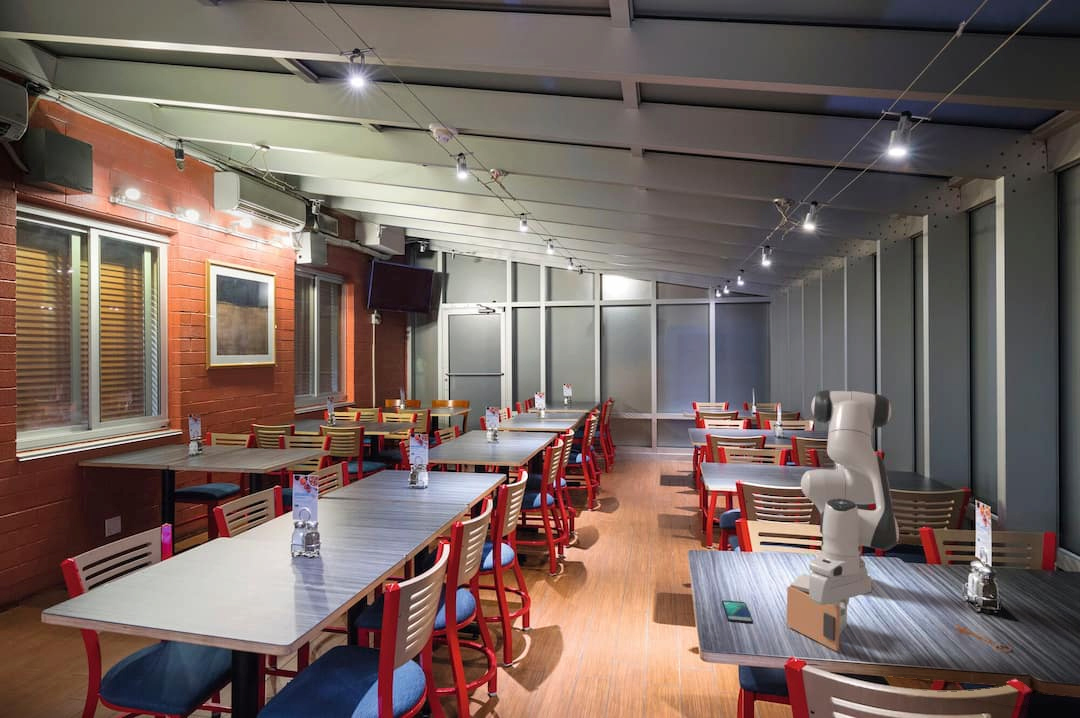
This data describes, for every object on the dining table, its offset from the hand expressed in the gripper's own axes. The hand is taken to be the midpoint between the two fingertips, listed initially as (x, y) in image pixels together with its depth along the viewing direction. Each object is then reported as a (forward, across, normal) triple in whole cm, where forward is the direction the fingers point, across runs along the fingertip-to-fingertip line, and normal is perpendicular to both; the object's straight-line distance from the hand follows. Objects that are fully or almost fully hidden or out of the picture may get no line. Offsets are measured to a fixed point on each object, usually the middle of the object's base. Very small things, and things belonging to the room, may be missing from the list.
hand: (839, 614), depth 157 cm
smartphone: (+9, +7, -28) cm, 31 cm away
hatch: (+8, +2, -7) cm, 11 cm away
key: (+9, -40, +15) cm, 44 cm away
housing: (+9, -7, -11) cm, 16 cm away
